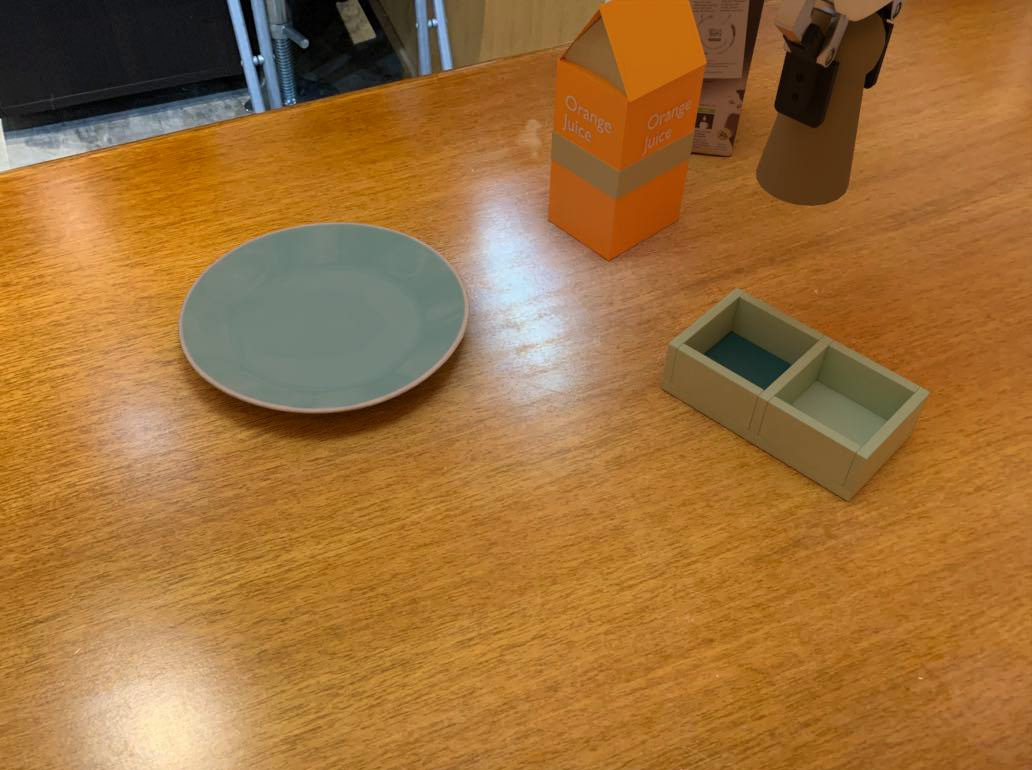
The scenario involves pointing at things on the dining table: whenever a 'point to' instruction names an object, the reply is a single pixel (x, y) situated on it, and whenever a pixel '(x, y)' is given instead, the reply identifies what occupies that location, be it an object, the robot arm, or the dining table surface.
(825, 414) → the tray
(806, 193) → the brown pawn
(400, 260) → the plate
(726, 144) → the coffee box
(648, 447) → the dining table surface
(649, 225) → the orange juice
